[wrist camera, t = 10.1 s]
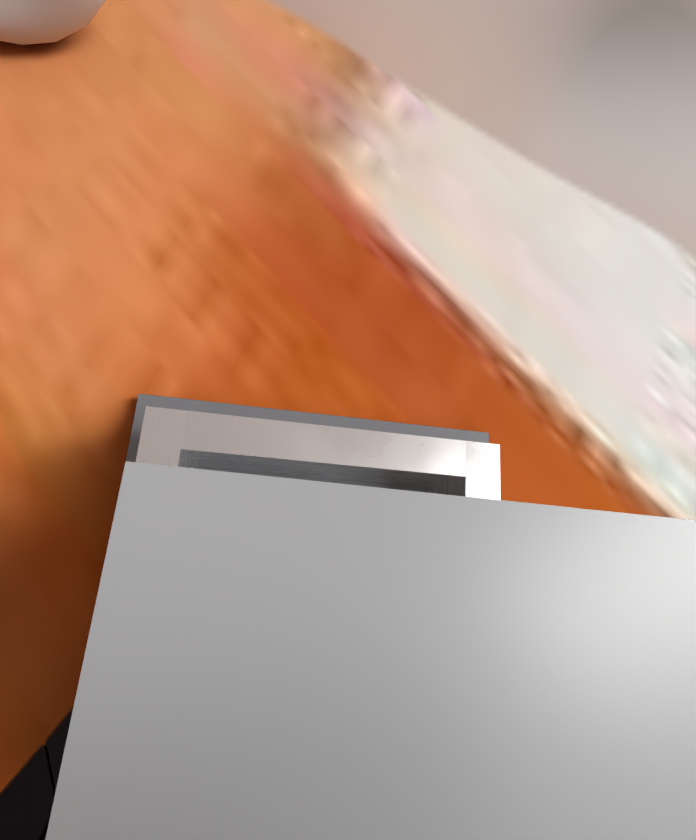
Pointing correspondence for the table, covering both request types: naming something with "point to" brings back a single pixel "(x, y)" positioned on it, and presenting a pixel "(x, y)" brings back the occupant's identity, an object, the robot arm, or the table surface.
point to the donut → (44, 19)
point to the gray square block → (381, 668)
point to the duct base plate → (299, 418)
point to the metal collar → (319, 451)
